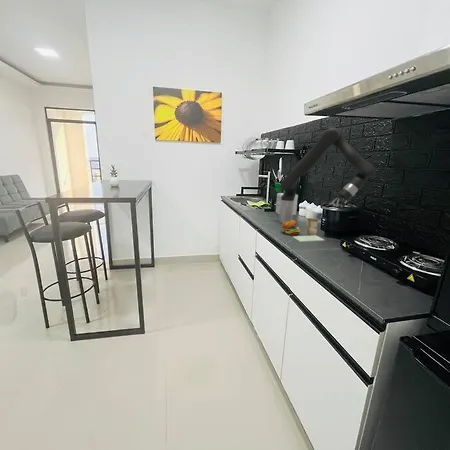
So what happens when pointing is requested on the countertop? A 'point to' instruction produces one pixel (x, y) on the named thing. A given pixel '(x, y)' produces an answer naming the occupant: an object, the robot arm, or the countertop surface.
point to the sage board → (308, 238)
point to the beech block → (311, 226)
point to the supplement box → (278, 203)
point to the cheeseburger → (290, 227)
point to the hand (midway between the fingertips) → (329, 211)
